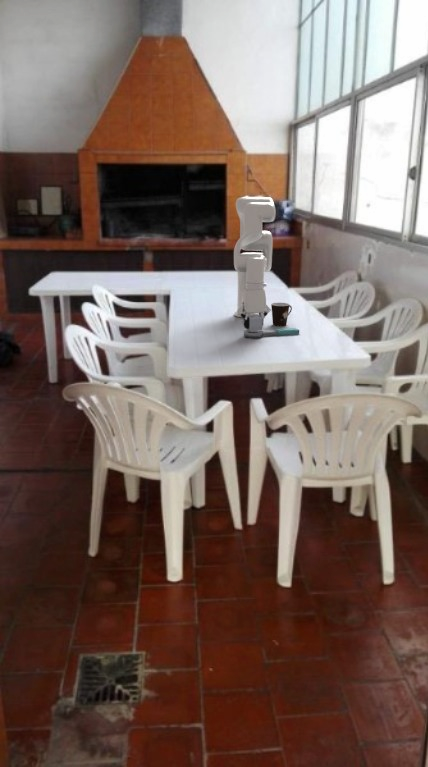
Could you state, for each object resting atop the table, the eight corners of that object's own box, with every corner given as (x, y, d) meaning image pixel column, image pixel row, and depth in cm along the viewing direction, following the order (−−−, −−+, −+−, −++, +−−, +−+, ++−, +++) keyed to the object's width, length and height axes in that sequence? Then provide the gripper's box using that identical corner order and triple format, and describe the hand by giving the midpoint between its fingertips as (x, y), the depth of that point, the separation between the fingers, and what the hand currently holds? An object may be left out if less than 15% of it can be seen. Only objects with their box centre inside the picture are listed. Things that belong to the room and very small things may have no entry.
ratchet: (240, 334, 260) (241, 321, 258) (293, 331, 268) (294, 318, 266) (247, 339, 253) (247, 326, 251) (301, 335, 260) (302, 322, 258)
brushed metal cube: (244, 328, 258) (244, 314, 257) (257, 327, 260) (257, 313, 258) (249, 331, 253) (249, 317, 251) (262, 330, 255) (262, 316, 253)
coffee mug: (274, 327, 275) (275, 306, 272) (267, 323, 283) (268, 303, 280) (297, 326, 278) (298, 305, 275) (290, 322, 286) (291, 301, 282)
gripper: (269, 284, 257) (268, 324, 262) (232, 285, 252) (232, 327, 257) (276, 286, 250) (275, 328, 256) (238, 288, 245) (237, 330, 251)
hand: (253, 327), depth 256 cm, fingers closed on brushed metal cube, 5 cm apart
